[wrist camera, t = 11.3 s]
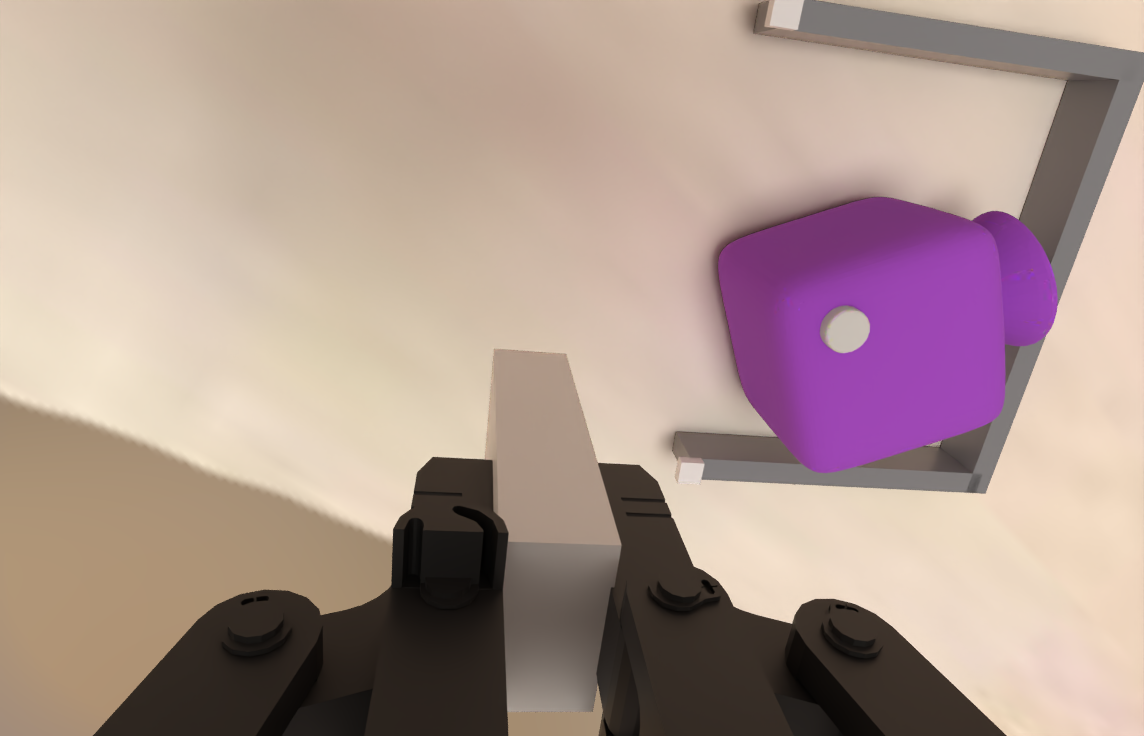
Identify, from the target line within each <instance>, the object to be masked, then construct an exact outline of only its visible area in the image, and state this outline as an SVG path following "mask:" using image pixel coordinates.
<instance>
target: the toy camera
mask: <svg viewBox="0 0 1144 736" xmlns="http://www.w3.org/2000/svg"><path fill="white" fill-rule="evenodd" d="M718 273H719V281H720V287H721V292H722V297H723V302H724V307H725V312H726V316H727V321H728V326H729V330H730V335H731V340H732V345H733V349H734V354H735V359H736V364H737V368H738V372H739V377H740V381H741V384H742V387H743V390H744V392H745V395H746V397H747V398H748V400H749V402H750V403H751V405H752V406H753V407H754V408H755V410H756V411H757V412H758V414H759V415H760V416H761V417H762V418H763V420H764V421H765V422H766V423H767V424H768V426H769V427H770V428H771V429H772V430H773V432H774V433H775V434H776V435H777V437H778V438H779V439H780V440H781V441H782V443H783V444H784V445H785V446H786V447H787V449H788V450H789V451H790V452H791V453H792V454H793V455H794V456H795V457H796V458H797V460H798V461H799V462H800V463H802V464H803V465H804V466H805V467H807V468H808V469H810V470H812V471H814V472H818V473H831V472H837V471H842V470H846V469H850V468H853V467H857V466H860V465H864V464H867V463H870V462H874V461H877V460H880V459H883V458H887V457H890V456H893V455H896V454H900V453H903V452H906V451H909V450H913V449H916V448H919V447H922V446H925V445H928V444H932V443H935V442H938V441H941V440H944V439H947V438H950V437H954V436H957V435H960V434H963V433H966V432H969V431H971V430H974V429H977V428H979V427H982V426H984V425H986V424H988V423H990V422H992V421H993V420H994V419H996V418H997V417H998V416H999V414H1000V413H1001V411H1002V408H1003V405H1004V399H1005V344H1007V345H1012V346H1028V345H1031V344H1035V343H1037V342H1038V341H1040V340H1041V339H1043V338H1044V337H1045V336H1046V334H1047V333H1048V332H1049V330H1050V329H1051V327H1052V325H1053V323H1054V319H1055V316H1056V312H1057V303H1058V296H1057V286H1056V281H1055V277H1054V273H1053V270H1052V267H1051V264H1050V262H1049V260H1048V257H1047V255H1046V253H1045V251H1044V249H1043V248H1042V246H1041V244H1040V243H1039V241H1038V240H1037V239H1036V237H1035V236H1034V235H1033V233H1032V232H1031V231H1030V230H1029V229H1028V228H1027V227H1026V226H1025V225H1024V224H1023V223H1022V222H1021V221H1019V220H1018V219H1016V218H1015V217H1013V216H1011V215H1009V214H1007V213H1004V212H1000V211H991V212H987V213H984V214H981V215H980V216H978V217H976V218H975V219H974V220H972V221H970V220H968V219H965V218H962V217H959V216H956V215H953V214H949V213H946V212H943V211H939V210H936V209H933V208H929V207H926V206H922V205H918V204H914V203H910V202H906V201H902V200H898V199H893V198H887V197H873V198H867V199H863V200H859V201H855V202H851V203H848V204H845V205H842V206H838V207H835V208H832V209H829V210H825V211H822V212H819V213H816V214H813V215H809V216H806V217H803V218H800V219H796V220H793V221H790V222H787V223H784V224H780V225H777V226H774V227H771V228H768V229H765V230H762V231H759V232H756V233H753V234H750V235H747V236H745V237H742V238H739V239H737V240H735V241H733V242H731V243H730V244H728V245H727V246H726V247H725V248H724V249H723V250H722V251H721V253H720V256H719V261H718Z"/></svg>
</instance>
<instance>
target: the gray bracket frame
mask: <svg viewBox="0 0 1144 736" xmlns="http://www.w3.org/2000/svg"><path fill="white" fill-rule="evenodd" d="M754 34H761V35H768V36H774V37H781V38H788V39H795V40H801V41H808V42H815V43H821V44H828V45H835V46H841V47H848V48H855V49H861V50H868V51H875V52H882V53H888V54H895V55H902V56H908V57H915V58H922V59H928V60H935V61H942V62H949V63H955V64H962V65H969V66H975V67H982V68H989V69H995V70H1002V71H1009V72H1015V73H1022V74H1029V75H1036V76H1042V77H1049V78H1056V79H1062V80H1068V81H1067V84H1066V87H1065V90H1064V93H1063V96H1062V99H1061V101H1060V104H1059V107H1058V110H1057V113H1056V116H1055V119H1054V122H1053V124H1052V127H1051V130H1050V133H1049V136H1048V139H1047V142H1046V145H1045V147H1044V150H1043V153H1042V156H1041V159H1040V162H1039V165H1038V168H1037V170H1036V173H1035V176H1034V179H1033V182H1032V185H1031V188H1030V191H1029V193H1028V196H1027V199H1026V202H1025V205H1024V208H1023V211H1022V214H1021V216H1020V219H1019V221H1021V222H1022V223H1023V224H1024V225H1025V226H1026V227H1027V228H1028V229H1029V230H1030V231H1031V232H1032V233H1033V235H1034V236H1035V237H1036V239H1037V240H1038V241H1039V243H1040V244H1041V246H1042V248H1043V249H1044V251H1045V253H1046V255H1047V257H1048V260H1049V262H1050V264H1051V267H1052V270H1053V273H1054V277H1055V281H1056V286H1057V296H1058V303H1059V300H1060V298H1061V295H1062V293H1063V290H1064V287H1065V285H1066V282H1067V280H1068V277H1069V274H1070V272H1071V269H1072V267H1073V264H1074V261H1075V259H1076V256H1077V254H1078V251H1079V248H1080V246H1081V243H1082V241H1083V238H1084V235H1085V233H1086V230H1087V228H1088V225H1089V222H1090V220H1091V217H1092V215H1093V212H1094V209H1095V207H1096V204H1097V202H1098V199H1099V196H1100V194H1101V191H1102V189H1103V186H1104V183H1105V181H1106V178H1107V176H1108V173H1109V170H1110V168H1111V165H1112V163H1113V160H1114V157H1115V155H1116V152H1117V150H1118V147H1119V144H1120V142H1121V139H1122V137H1123V134H1124V131H1125V129H1126V126H1127V124H1128V121H1129V118H1130V116H1131V113H1132V111H1133V108H1134V105H1135V103H1136V100H1137V98H1138V95H1139V92H1140V90H1141V87H1142V85H1143V82H1144V53H1143V52H1137V51H1130V50H1124V49H1118V48H1112V47H1105V46H1099V45H1093V44H1086V43H1080V42H1074V41H1067V40H1061V39H1055V38H1049V37H1042V36H1036V35H1030V34H1023V33H1017V32H1011V31H1005V30H998V29H992V28H986V27H979V26H973V25H967V24H960V23H954V22H948V21H942V20H935V19H929V18H923V17H916V16H910V15H904V14H898V13H891V12H885V11H879V10H872V9H866V8H860V7H853V6H847V5H841V4H835V3H828V2H822V1H816V0H769V1H766V2H763V3H760V4H759V7H758V12H757V17H756V22H755V28H754ZM1058 303H1057V306H1058ZM1045 337H1046V336H1045ZM1045 337H1044V338H1043V339H1041V340H1040V341H1038V342H1037V343H1035V344H1031V345H1028V346H1012V345H1007V344H1005V399H1004V405H1003V408H1002V411H1001V413H1000V414H999V416H998V417H997V418H996V419H994V420H993V421H992V422H990V423H988V424H986V425H984V426H982V427H979V428H977V429H974V430H971V431H969V432H966V433H963V434H960V435H957V436H954V437H950V438H947V439H944V440H942V443H941V446H940V447H925V446H922V447H919V448H916V449H913V450H909V451H906V452H903V453H900V454H896V455H893V456H890V457H887V458H883V459H880V460H877V461H874V462H870V463H867V464H864V465H860V466H857V467H853V468H850V469H846V470H842V471H837V472H831V473H818V472H814V471H812V470H810V469H808V468H807V467H805V466H804V465H803V464H802V463H800V462H799V461H798V460H797V458H796V457H795V456H794V455H793V454H792V453H791V452H790V451H789V450H788V449H787V447H786V446H785V445H784V444H783V443H782V441H781V440H780V439H779V438H774V437H758V436H741V435H724V434H707V433H691V432H676V434H675V439H674V445H673V450H672V451H673V453H674V455H675V457H676V459H677V461H678V463H677V468H676V473H675V479H676V481H677V483H683V484H700V483H701V479H702V480H722V481H743V482H763V483H783V484H803V485H823V486H844V487H864V488H884V489H904V490H924V491H945V492H965V493H986V490H987V488H988V485H989V483H990V480H991V477H992V475H993V472H994V470H995V467H996V464H997V462H998V459H999V457H1000V454H1001V451H1002V449H1003V446H1004V444H1005V441H1006V438H1007V436H1008V433H1009V431H1010V428H1011V425H1012V423H1013V420H1014V418H1015V415H1016V412H1017V410H1018V407H1019V405H1020V402H1021V399H1022V397H1023V394H1024V392H1025V389H1026V386H1027V384H1028V381H1029V379H1030V376H1031V373H1032V371H1033V368H1034V366H1035V363H1036V360H1037V358H1038V355H1039V353H1040V350H1041V347H1042V345H1043V342H1044V340H1045Z"/></svg>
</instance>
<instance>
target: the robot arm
mask: <svg viewBox="0 0 1144 736" xmlns="http://www.w3.org/2000/svg"><path fill="white" fill-rule="evenodd" d="M597 684H598V686H599V691H600V697H601V702H602V708H603V714H602V720H601V725H600V731H599V736H1006V735H1005V734H1004V733H1003V732H1002V731H1001V730H1000V729H999V728H998V727H997V726H996V725H995V724H994V723H993V722H992V721H991V720H990V719H989V718H988V717H987V716H985V715H984V714H983V713H982V712H981V711H980V710H979V709H978V708H977V707H976V706H975V705H974V704H973V703H972V702H971V701H970V700H969V699H968V698H967V697H966V696H964V695H963V694H962V693H961V692H960V691H959V690H958V689H957V688H956V687H955V686H954V685H953V684H952V683H951V682H950V681H949V680H948V679H947V678H946V677H945V676H943V675H942V674H941V673H940V672H939V671H938V670H937V669H936V668H935V667H934V666H933V665H932V664H931V663H930V662H929V661H928V660H927V659H926V658H925V657H924V656H922V655H921V654H920V653H919V652H918V651H917V650H916V649H915V648H914V647H913V646H912V645H911V644H910V643H909V642H908V641H907V640H906V639H905V638H904V637H903V636H901V635H900V634H899V633H898V632H897V631H896V630H895V629H894V628H893V627H892V626H891V625H889V624H888V623H887V622H885V621H884V620H883V619H881V618H880V617H879V616H877V615H876V614H875V613H872V612H870V611H868V610H866V609H864V608H862V607H860V606H858V605H856V604H852V603H848V602H844V601H840V600H836V599H814V600H812V601H809V602H807V603H804V604H802V605H801V607H800V608H799V610H798V611H797V612H796V614H795V616H794V620H793V623H792V624H790V623H786V622H782V621H778V620H774V619H770V618H766V617H762V616H758V615H754V614H751V613H748V612H745V611H742V610H739V609H737V608H735V607H733V604H732V602H731V600H730V598H729V596H728V594H727V593H726V591H725V590H724V589H723V587H722V586H721V585H720V583H719V582H718V581H717V580H716V579H714V578H713V577H711V576H710V575H709V574H707V573H706V572H704V571H703V570H701V569H698V568H695V567H694V566H693V564H692V562H691V559H690V557H689V554H688V552H687V550H686V547H685V545H684V543H683V540H682V538H681V536H680V533H679V531H678V529H677V526H676V524H675V522H674V519H673V518H671V512H670V510H669V508H668V505H667V503H665V498H664V496H663V494H662V491H661V489H660V486H659V484H658V482H657V481H656V480H655V479H654V478H653V477H652V476H651V475H650V474H649V473H647V472H646V471H645V470H644V469H643V468H642V467H641V466H640V465H627V464H607V463H598V462H597V459H596V455H595V452H594V449H593V445H592V442H591V438H590V435H589V431H588V428H587V424H586V421H585V418H584V414H583V411H582V407H581V404H580V400H579V397H578V394H577V390H576V387H575V383H574V380H573V376H572V373H571V369H570V366H569V363H568V359H567V356H566V354H559V353H545V352H531V351H518V350H504V349H494V354H493V366H492V378H491V390H490V402H489V414H488V426H487V438H486V449H485V460H483V459H462V458H442V457H432V458H431V459H430V460H429V461H428V462H427V463H426V464H425V465H424V466H423V467H422V468H421V469H420V470H419V471H418V472H417V477H416V483H415V488H414V495H413V500H412V505H411V510H409V511H408V512H406V513H405V514H403V515H402V516H400V518H399V520H398V521H397V523H396V525H395V527H394V529H393V553H392V585H391V587H390V588H389V589H388V590H386V591H385V592H384V593H382V594H381V595H380V596H379V597H377V598H375V599H373V600H371V601H370V602H367V603H365V604H363V605H361V606H357V607H354V608H351V609H348V610H344V611H339V612H334V613H329V614H325V615H320V611H319V609H318V608H317V607H316V606H315V605H314V604H313V603H312V602H311V601H310V600H309V599H308V598H306V597H304V596H301V595H298V594H295V593H292V592H290V591H281V590H280V591H279V590H261V591H255V592H250V593H245V594H240V595H238V596H236V597H233V598H231V599H229V600H226V601H224V602H222V603H220V604H217V605H216V606H214V608H212V609H211V610H210V611H208V612H207V613H206V614H205V615H203V616H202V617H201V618H200V619H198V620H197V621H196V623H195V624H194V625H193V626H192V627H191V628H190V629H189V630H188V631H187V632H186V634H185V635H184V636H183V637H182V638H181V639H180V640H179V641H178V642H177V644H176V645H175V646H174V647H173V648H172V649H171V650H170V651H169V652H168V653H167V655H166V656H165V657H164V658H163V659H162V660H161V661H160V662H159V663H158V665H157V666H156V667H155V668H154V669H153V670H152V671H151V672H150V673H149V674H148V676H147V677H146V678H145V679H144V680H143V681H142V682H141V683H140V684H139V686H138V687H137V688H136V689H135V690H134V691H133V692H132V693H131V694H130V696H129V697H128V698H127V699H126V700H125V701H124V702H123V703H122V704H121V706H120V707H119V708H118V709H117V710H116V711H115V712H114V713H113V714H112V715H111V716H110V717H109V719H108V720H107V721H106V722H105V723H104V724H103V725H102V727H100V729H99V730H98V731H97V732H96V733H95V734H94V735H93V736H508V717H507V712H593V708H594V702H595V696H596V691H597Z"/></svg>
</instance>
